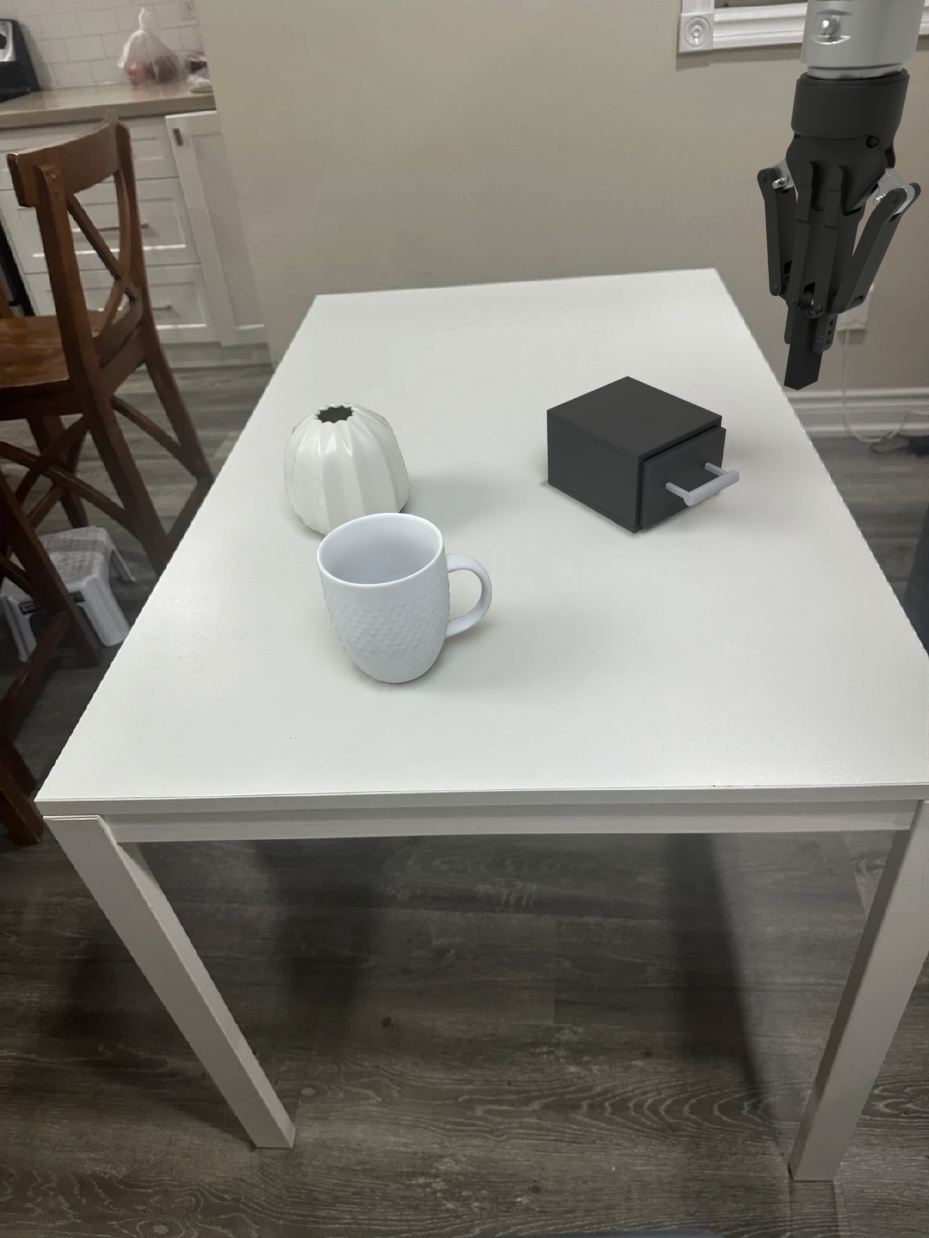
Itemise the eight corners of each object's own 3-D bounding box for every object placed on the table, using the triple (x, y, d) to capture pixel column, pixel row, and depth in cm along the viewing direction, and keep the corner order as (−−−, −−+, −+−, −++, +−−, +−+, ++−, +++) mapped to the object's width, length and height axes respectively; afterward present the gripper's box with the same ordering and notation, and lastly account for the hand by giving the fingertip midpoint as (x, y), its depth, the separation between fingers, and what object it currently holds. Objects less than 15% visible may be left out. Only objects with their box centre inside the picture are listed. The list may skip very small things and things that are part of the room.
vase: (435, 517, 100) (423, 411, 92) (333, 566, 94) (309, 458, 86) (372, 474, 109) (355, 373, 100) (274, 517, 103) (247, 414, 94)
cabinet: (713, 492, 100) (722, 415, 93) (634, 533, 94) (638, 456, 88) (624, 447, 109) (627, 375, 103) (547, 483, 104) (546, 409, 98)
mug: (482, 605, 87) (472, 494, 79) (510, 678, 79) (502, 561, 70) (335, 635, 85) (309, 524, 77) (348, 712, 77) (321, 597, 68)
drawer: (748, 505, 95) (758, 442, 90) (675, 546, 91) (681, 481, 86) (634, 449, 107) (637, 390, 102) (564, 482, 102) (563, 422, 97)
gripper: (744, 72, 64) (713, 375, 79) (907, 82, 55) (838, 420, 70) (810, 57, 67) (768, 351, 82) (973, 64, 58) (893, 392, 73)
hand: (800, 383), depth 76 cm, fingers closed
